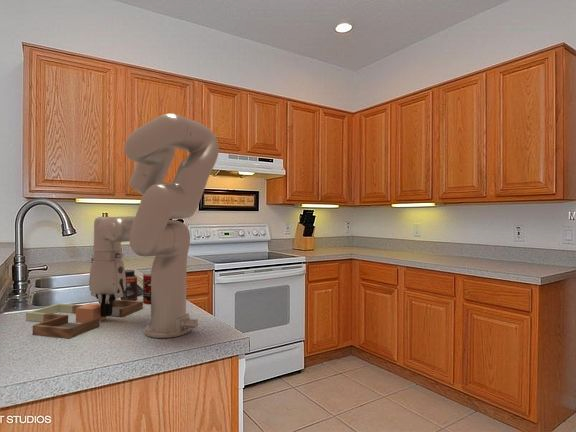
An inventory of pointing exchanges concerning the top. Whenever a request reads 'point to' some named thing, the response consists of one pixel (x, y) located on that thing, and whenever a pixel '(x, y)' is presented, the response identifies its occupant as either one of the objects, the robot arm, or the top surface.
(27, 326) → the top surface
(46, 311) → the box
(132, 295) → the supplement bottle
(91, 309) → the block
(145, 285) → the canned food
